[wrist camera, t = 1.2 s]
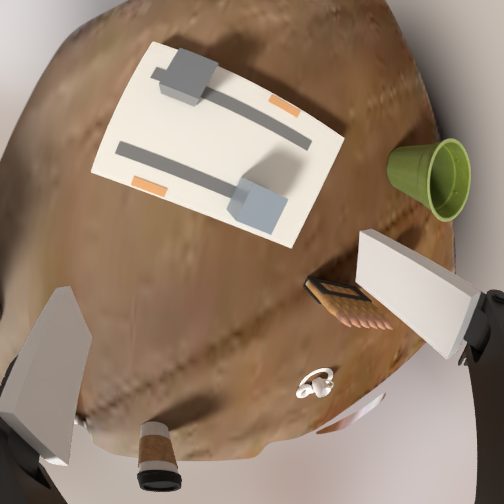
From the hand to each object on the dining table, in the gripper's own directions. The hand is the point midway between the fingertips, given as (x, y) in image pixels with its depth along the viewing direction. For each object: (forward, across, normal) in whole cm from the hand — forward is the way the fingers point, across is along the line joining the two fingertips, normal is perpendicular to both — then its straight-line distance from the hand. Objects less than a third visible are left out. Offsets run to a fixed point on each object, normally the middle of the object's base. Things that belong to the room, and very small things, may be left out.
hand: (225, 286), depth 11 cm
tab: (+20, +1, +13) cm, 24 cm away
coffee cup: (+24, -17, -45) cm, 54 cm away
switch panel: (+24, +4, +5) cm, 24 cm away
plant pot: (+24, +33, +1) cm, 41 cm away
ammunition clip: (+24, +20, -18) cm, 36 cm away
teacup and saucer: (+24, +16, -39) cm, 49 cm away
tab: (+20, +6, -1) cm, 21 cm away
